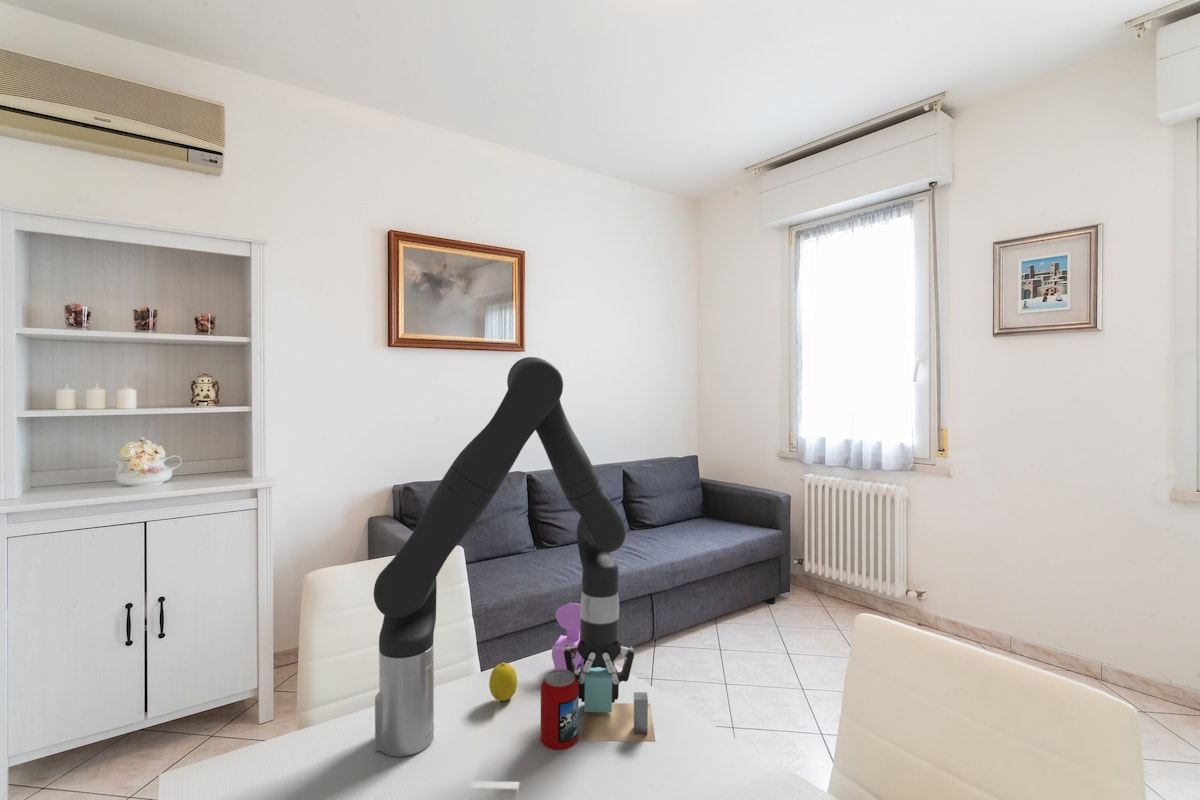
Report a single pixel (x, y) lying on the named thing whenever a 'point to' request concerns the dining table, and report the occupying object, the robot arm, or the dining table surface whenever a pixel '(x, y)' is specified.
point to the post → (640, 713)
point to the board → (615, 725)
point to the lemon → (503, 682)
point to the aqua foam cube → (598, 690)
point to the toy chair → (571, 622)
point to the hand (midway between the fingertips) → (598, 699)
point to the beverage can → (559, 710)
